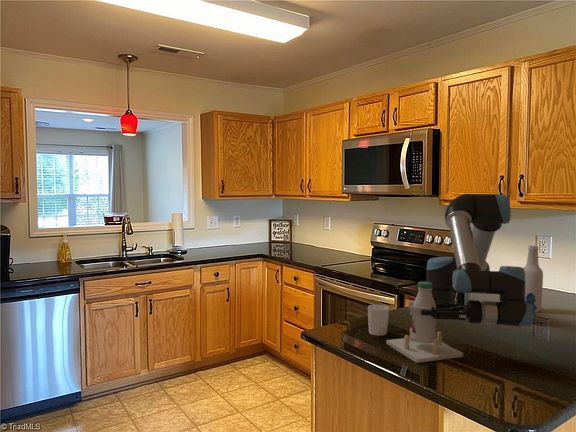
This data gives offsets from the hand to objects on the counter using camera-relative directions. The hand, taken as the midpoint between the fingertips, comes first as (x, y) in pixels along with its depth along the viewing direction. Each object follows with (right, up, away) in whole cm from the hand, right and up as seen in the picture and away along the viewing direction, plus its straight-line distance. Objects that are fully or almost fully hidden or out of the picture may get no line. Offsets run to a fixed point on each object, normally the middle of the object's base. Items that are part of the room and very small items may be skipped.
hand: (409, 307), depth 148 cm
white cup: (-7, -14, +17) cm, 23 cm away
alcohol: (+71, -13, +53) cm, 89 cm away
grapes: (+60, -13, +35) cm, 71 cm away
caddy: (+5, -14, 0) cm, 15 cm away
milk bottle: (+5, -11, 0) cm, 12 cm away
